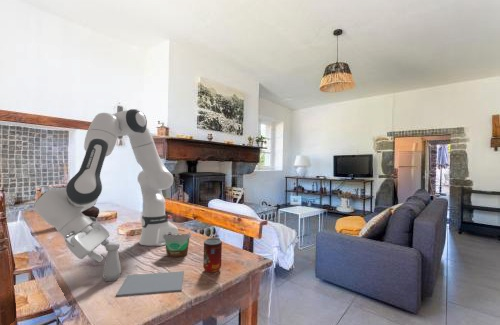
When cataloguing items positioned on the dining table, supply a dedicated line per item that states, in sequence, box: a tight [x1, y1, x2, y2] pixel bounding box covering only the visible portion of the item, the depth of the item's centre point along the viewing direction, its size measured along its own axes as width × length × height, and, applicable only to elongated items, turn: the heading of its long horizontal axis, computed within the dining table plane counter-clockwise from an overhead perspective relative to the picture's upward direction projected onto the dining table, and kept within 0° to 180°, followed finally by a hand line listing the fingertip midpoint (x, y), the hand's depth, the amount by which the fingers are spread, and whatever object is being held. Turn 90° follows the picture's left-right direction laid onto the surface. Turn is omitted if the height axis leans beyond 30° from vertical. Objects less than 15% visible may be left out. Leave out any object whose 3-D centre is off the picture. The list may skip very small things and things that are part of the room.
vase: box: [82, 202, 100, 219], centre depth 166 cm, size 15×15×30 cm
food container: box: [164, 232, 192, 259], centre depth 111 cm, size 12×6×10 cm, turn 105°
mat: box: [115, 270, 185, 297], centre depth 86 cm, size 20×14×1 cm
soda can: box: [203, 237, 223, 275], centre depth 97 cm, size 7×7×12 cm
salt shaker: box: [102, 241, 122, 282], centre depth 89 cm, size 6×6×13 cm
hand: (107, 255), depth 88 cm, fingers open, 8 cm apart
